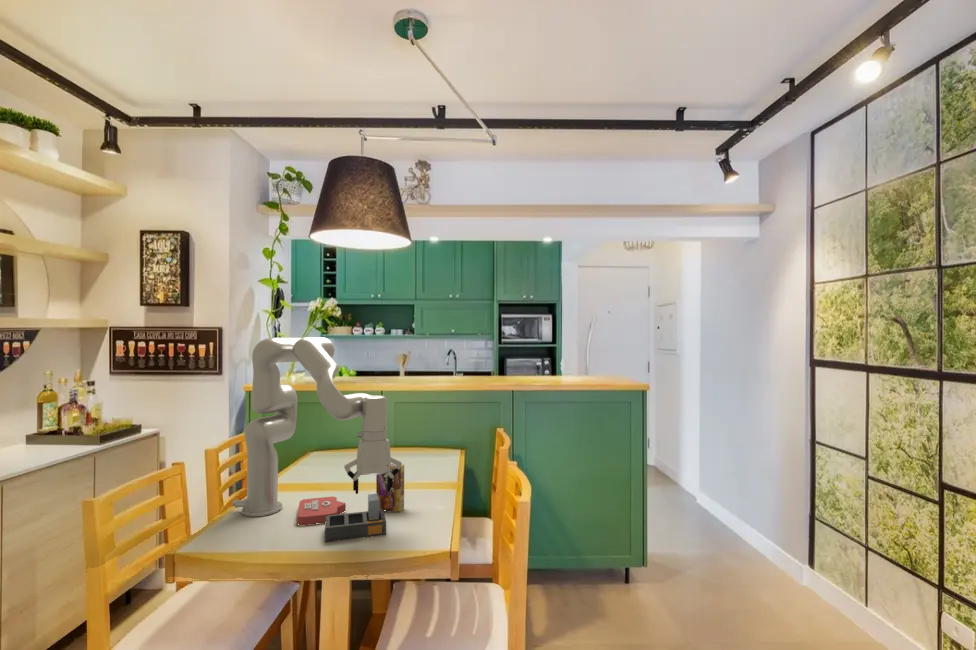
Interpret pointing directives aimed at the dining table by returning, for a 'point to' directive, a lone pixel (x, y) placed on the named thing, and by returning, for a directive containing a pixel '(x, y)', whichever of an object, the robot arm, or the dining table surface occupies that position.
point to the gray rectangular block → (373, 507)
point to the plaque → (318, 509)
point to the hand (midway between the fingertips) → (372, 491)
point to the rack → (353, 526)
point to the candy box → (391, 491)
